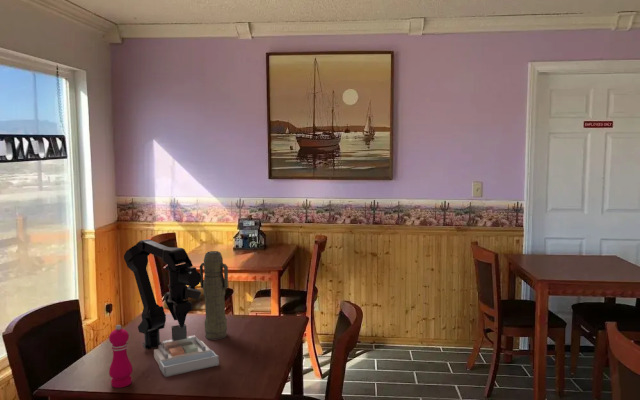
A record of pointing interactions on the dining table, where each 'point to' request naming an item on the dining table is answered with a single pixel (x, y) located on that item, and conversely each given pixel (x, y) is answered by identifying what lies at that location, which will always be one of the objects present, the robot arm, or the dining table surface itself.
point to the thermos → (214, 294)
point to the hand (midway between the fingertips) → (178, 323)
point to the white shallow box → (165, 355)
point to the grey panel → (179, 338)
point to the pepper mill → (120, 359)
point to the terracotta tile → (176, 351)
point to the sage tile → (190, 348)
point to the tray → (188, 363)
